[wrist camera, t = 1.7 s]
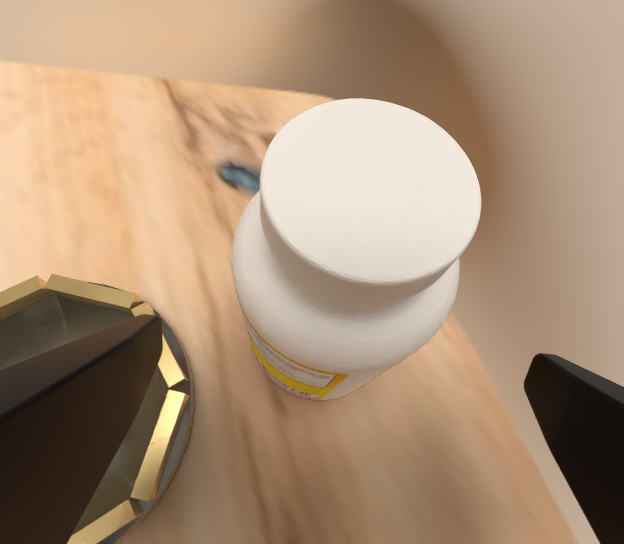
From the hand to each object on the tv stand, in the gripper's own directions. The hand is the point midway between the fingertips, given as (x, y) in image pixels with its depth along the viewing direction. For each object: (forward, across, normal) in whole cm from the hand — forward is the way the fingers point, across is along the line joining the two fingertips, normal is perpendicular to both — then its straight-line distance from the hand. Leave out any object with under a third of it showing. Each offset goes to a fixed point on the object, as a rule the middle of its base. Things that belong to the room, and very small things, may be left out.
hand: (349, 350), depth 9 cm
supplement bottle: (+9, 0, +5) cm, 11 cm away
